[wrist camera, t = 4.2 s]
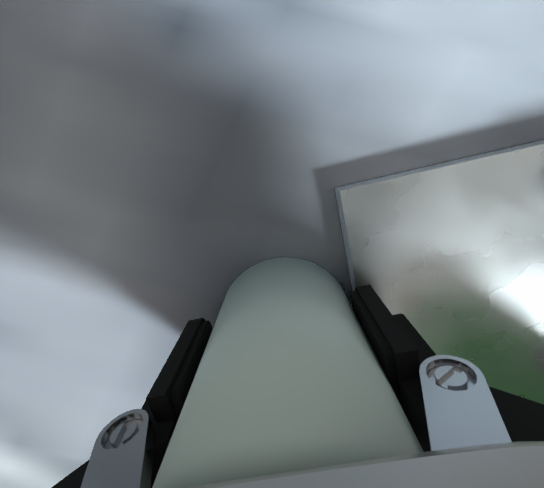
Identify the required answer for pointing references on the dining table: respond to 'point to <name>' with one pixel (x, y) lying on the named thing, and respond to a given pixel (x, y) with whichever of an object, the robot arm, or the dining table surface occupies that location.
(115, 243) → the dining table surface
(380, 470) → the robot arm
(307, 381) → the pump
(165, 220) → the dining table surface
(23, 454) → the dining table surface
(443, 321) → the clip bracket
